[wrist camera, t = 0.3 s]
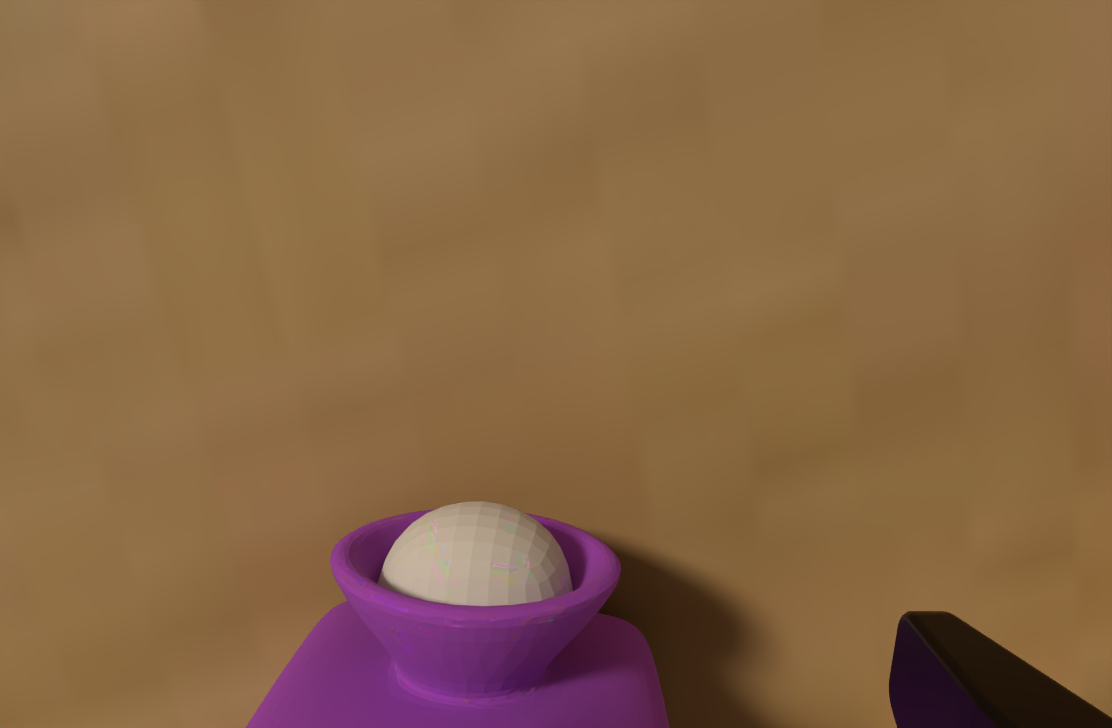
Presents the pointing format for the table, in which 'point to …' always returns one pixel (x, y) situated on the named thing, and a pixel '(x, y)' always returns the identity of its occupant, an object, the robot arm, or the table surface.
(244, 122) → the table surface
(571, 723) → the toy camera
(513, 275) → the table surface
